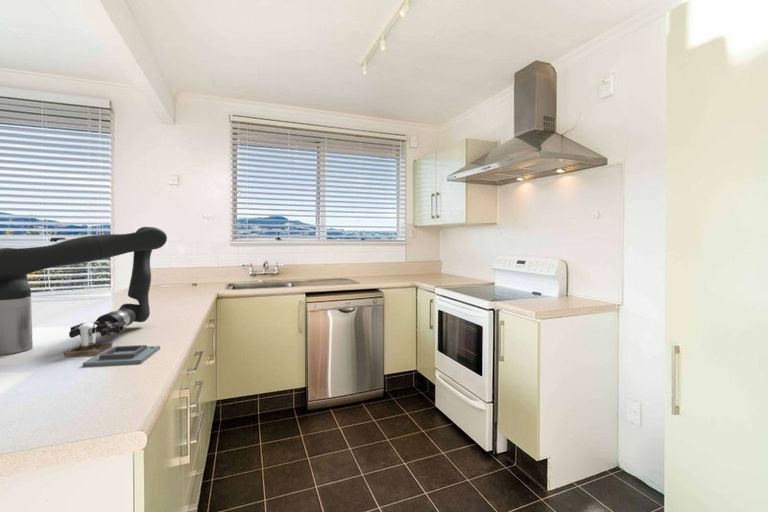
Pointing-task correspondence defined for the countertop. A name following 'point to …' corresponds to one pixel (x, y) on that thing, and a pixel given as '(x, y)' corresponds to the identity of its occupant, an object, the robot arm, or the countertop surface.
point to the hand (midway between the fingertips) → (86, 334)
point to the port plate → (122, 355)
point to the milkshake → (88, 336)
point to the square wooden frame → (77, 351)
